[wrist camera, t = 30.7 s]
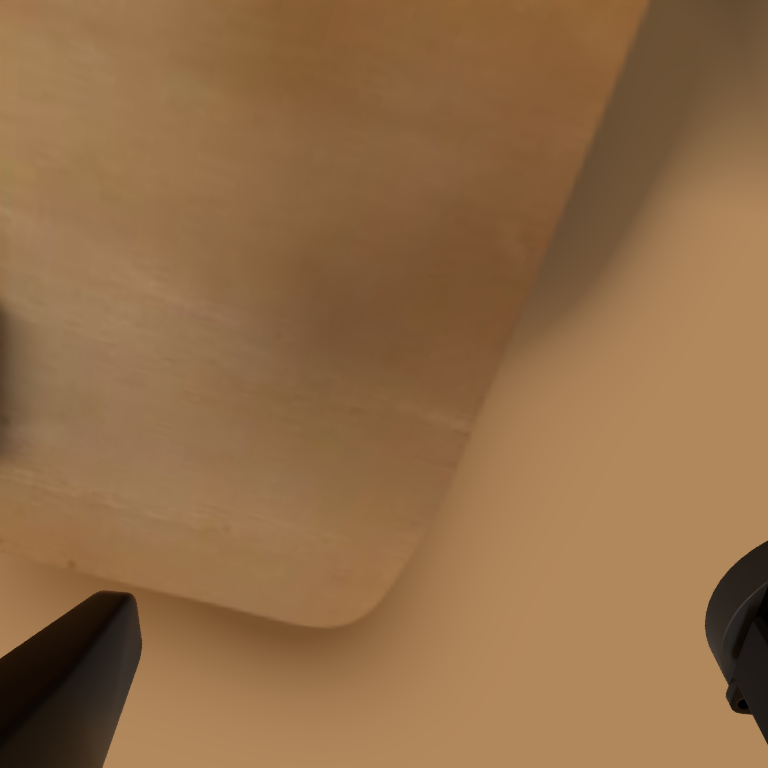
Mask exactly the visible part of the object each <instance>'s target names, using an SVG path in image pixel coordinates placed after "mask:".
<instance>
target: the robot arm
mask: <svg viewBox="0 0 768 768" xmlns="http://www.w3.org/2000/svg"><path fill="white" fill-rule="evenodd" d="M141 650H142V638H141V631H140V625H139V617H138V610H137V603H136V599H135V597H134V596H133V595H132V594H130V593H127V592H116V591H99V592H97V593H95V594H93V595H92V596H90V597H89V598H88V599H86V600H85V601H83V602H82V603H80V604H79V605H77V606H76V607H74V608H73V609H72V610H70V611H69V612H67V613H66V614H64V615H63V616H62V617H60V618H59V619H57V620H56V621H54V622H53V623H51V624H50V625H48V626H47V627H45V628H44V629H43V630H41V631H40V632H38V633H37V634H35V635H34V636H32V637H31V638H30V639H28V640H27V641H25V642H24V643H23V644H21V645H20V646H18V647H16V648H15V649H14V650H12V651H11V652H9V653H8V654H6V655H5V656H3V657H2V658H1V659H0V768H102V767H103V764H104V761H105V758H106V756H107V753H108V750H109V747H110V744H111V741H112V738H113V735H114V733H115V730H116V727H117V724H118V721H119V718H120V715H121V712H122V709H123V707H124V704H125V701H126V698H127V695H128V692H129V689H130V686H131V683H132V681H133V678H134V675H135V672H136V669H137V666H138V663H139V660H140V656H141ZM726 698H727V700H728V702H729V704H730V706H731V708H732V710H733V711H735V712H737V713H741V714H751V715H753V717H754V719H755V720H756V722H757V724H758V726H759V728H760V730H761V732H762V734H763V736H764V738H765V740H766V742H767V744H768V587H767V590H766V592H765V595H764V597H763V600H762V602H761V605H760V607H759V610H758V613H757V615H756V618H755V619H754V621H753V622H752V624H751V626H750V629H749V631H748V634H747V636H746V639H745V642H744V644H743V647H742V649H741V652H740V654H739V657H738V660H737V662H736V665H735V667H734V670H733V676H732V679H731V682H730V684H729V687H728V689H727V692H726Z"/></svg>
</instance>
